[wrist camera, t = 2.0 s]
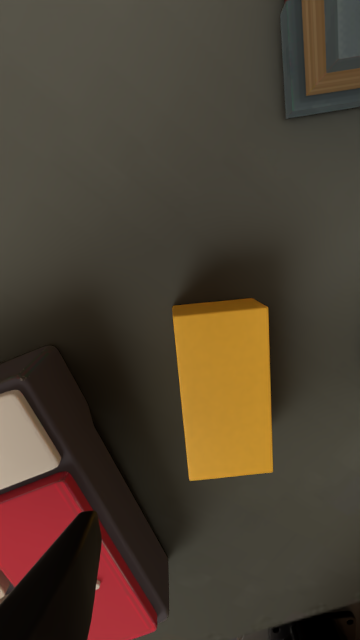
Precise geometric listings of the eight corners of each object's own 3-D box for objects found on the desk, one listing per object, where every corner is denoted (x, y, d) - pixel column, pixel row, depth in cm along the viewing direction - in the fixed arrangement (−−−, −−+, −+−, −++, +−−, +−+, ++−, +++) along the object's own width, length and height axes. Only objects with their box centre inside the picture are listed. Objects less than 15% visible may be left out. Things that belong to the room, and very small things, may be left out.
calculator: (-29, 709, 15) (-253, 488, 11) (11, 608, 20) (-142, 420, 16) (172, 639, 15) (13, 381, 11) (170, 551, 19) (54, 341, 15)
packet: (258, 440, 17) (273, 473, 14) (186, 448, 17) (189, 482, 14) (252, 297, 15) (268, 306, 13) (172, 305, 15) (172, 316, 13)
